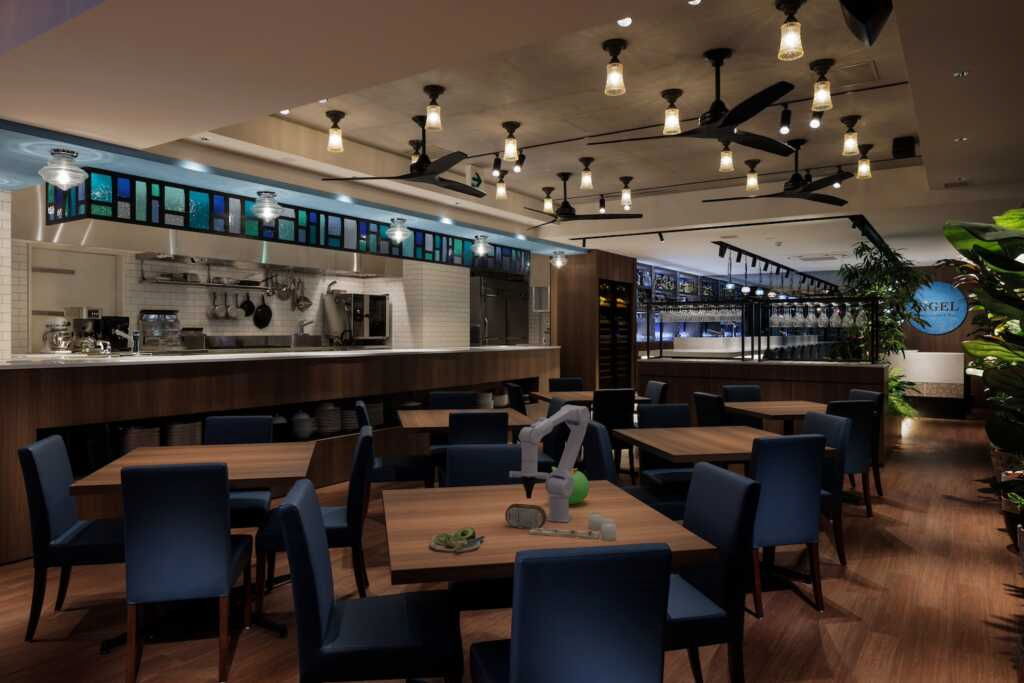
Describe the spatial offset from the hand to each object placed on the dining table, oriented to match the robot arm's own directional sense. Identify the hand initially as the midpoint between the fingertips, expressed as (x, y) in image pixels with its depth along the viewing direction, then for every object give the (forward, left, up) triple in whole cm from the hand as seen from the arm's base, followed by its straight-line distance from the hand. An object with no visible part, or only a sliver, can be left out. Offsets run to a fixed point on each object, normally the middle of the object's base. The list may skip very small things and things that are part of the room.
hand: (528, 497), depth 251 cm
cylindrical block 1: (-5, +24, -11) cm, 27 cm away
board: (+7, +14, -11) cm, 19 cm away
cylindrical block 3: (+7, +30, -11) cm, 32 cm away
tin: (+1, -1, -11) cm, 11 cm away
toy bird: (-40, +9, -11) cm, 42 cm away
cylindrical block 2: (0, +29, -11) cm, 30 cm away
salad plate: (+27, -19, -11) cm, 35 cm away
